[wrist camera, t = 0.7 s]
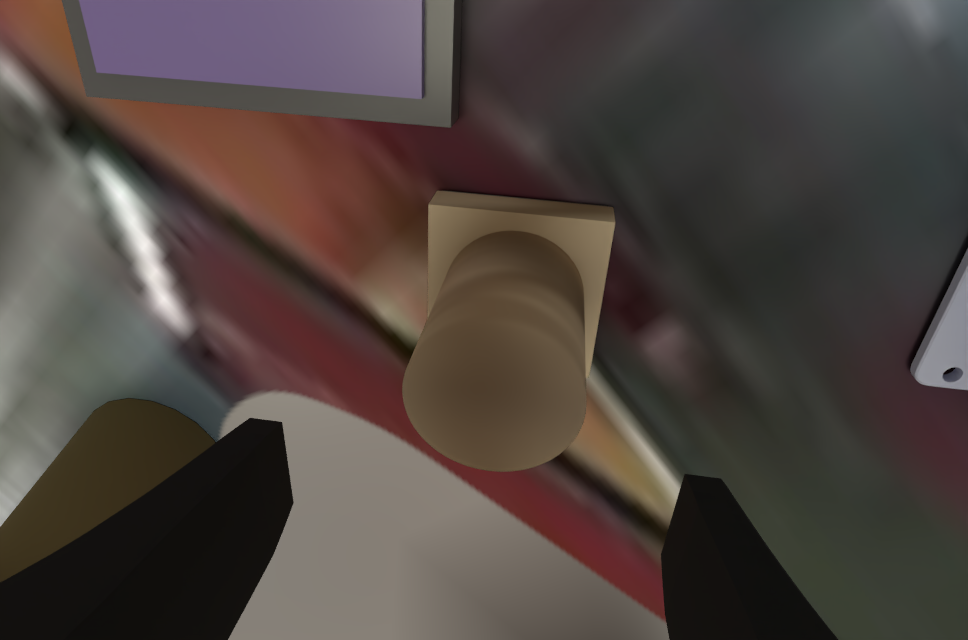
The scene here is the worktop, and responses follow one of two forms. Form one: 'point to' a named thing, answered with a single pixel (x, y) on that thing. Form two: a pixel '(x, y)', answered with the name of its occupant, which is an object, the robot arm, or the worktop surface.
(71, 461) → the cork
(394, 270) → the worktop surface
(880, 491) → the worktop surface
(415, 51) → the ink pad
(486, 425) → the stamp
